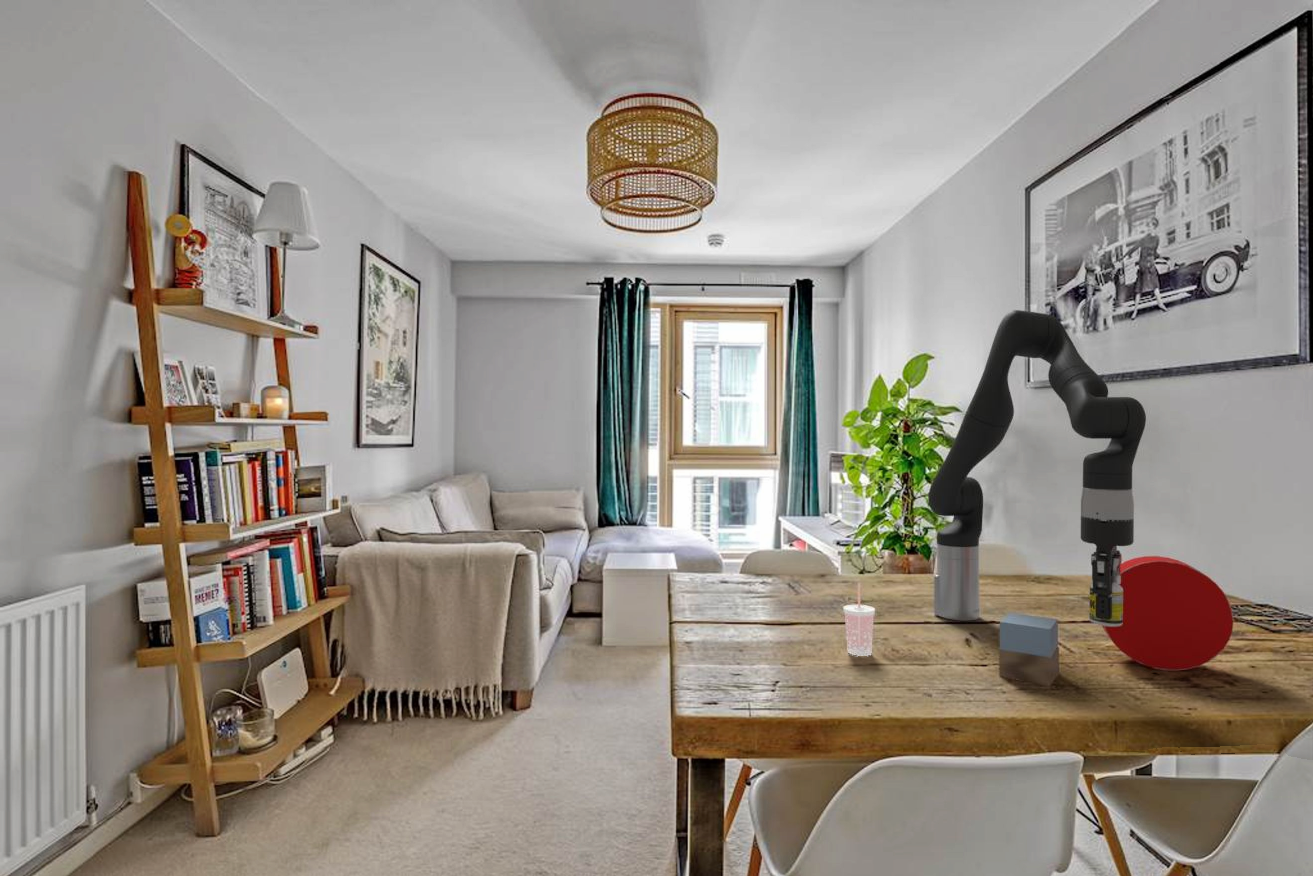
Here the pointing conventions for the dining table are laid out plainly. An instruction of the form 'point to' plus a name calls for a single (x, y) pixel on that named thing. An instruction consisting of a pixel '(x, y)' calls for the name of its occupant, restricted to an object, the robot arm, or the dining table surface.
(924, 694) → the dining table surface
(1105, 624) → the supplement bottle
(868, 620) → the beverage cup
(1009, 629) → the tower top block
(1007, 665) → the tower base block
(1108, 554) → the robot arm
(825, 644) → the dining table surface
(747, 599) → the dining table surface
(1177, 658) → the red disc
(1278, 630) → the dining table surface
